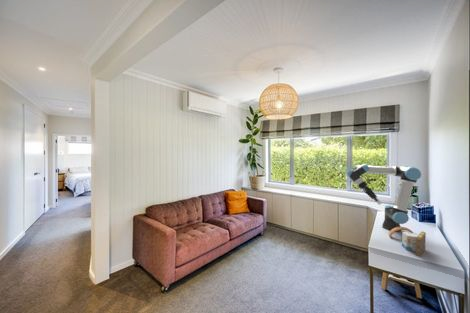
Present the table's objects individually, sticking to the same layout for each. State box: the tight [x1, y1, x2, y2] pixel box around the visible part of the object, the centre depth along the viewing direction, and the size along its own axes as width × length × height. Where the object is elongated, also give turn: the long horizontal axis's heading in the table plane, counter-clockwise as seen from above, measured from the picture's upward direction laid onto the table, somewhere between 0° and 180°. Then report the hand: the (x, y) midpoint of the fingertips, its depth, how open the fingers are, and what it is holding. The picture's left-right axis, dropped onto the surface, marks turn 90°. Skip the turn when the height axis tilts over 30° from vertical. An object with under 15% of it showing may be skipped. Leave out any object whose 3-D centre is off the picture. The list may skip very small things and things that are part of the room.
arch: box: [388, 226, 414, 239], centre depth 182 cm, size 6×20×10 cm, turn 61°
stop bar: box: [415, 230, 427, 257], centre depth 157 cm, size 18×2×14 cm, turn 128°
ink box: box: [401, 231, 419, 252], centre depth 164 cm, size 9×8×12 cm
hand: (380, 203), depth 187 cm, fingers closed
